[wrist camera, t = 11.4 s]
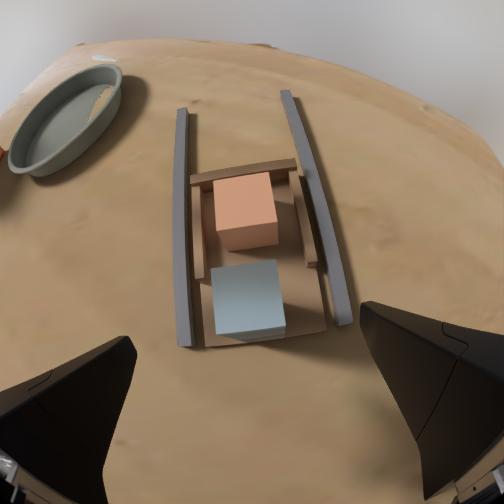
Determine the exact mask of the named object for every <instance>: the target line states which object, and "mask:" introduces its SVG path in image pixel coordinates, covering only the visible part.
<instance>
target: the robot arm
mask: <svg viewBox="0 0 504 504" xmlns="http://www.w3.org/2000/svg"><path fill="white" fill-rule="evenodd" d="M360 327H361V329H362V332H363V335H364V337H365V340H366V342H367V345H368V348H369V350H370V353H371V355H372V357H373V359H374V361H375V363H376V364H377V366H378V368H379V370H380V372H381V374H382V376H383V377H384V379H385V381H386V383H387V385H388V387H389V389H390V391H391V393H392V395H393V397H394V398H395V400H396V402H397V404H398V406H399V408H400V410H401V412H402V414H403V416H404V418H405V420H406V422H407V424H408V426H409V428H410V430H411V432H412V435H413V437H414V439H415V441H416V443H417V445H418V448H419V452H420V457H421V466H422V477H423V492H424V500H425V501H426V500H428V499H430V498H432V497H435V496H437V495H439V494H441V493H443V492H445V491H447V490H449V489H451V488H453V487H454V486H455V487H456V490H457V492H458V495H457V496H455V497H454V499H453V501H452V503H451V504H504V335H501V334H495V333H490V332H485V331H480V330H475V329H470V328H466V327H461V326H457V325H454V324H450V323H446V322H441V321H438V320H435V319H431V318H428V317H424V316H421V315H417V314H414V313H411V312H407V311H404V310H400V309H397V308H393V307H390V306H387V305H383V304H380V303H377V302H373V301H367V302H363V303H361V305H360ZM136 360H137V351H136V349H135V347H134V345H133V343H132V341H131V339H130V338H129V337H128V336H118V337H116V338H114V339H113V340H111V341H109V342H107V343H105V344H103V345H101V346H99V347H97V348H95V349H93V350H91V351H89V352H87V353H85V354H83V355H81V356H79V357H77V358H75V359H73V360H71V361H68V362H66V363H64V364H62V365H60V366H58V367H56V368H54V369H52V370H49V371H47V372H45V373H43V374H41V375H39V376H37V377H35V378H32V379H30V380H28V381H25V382H23V383H21V384H18V385H16V386H13V387H11V388H8V389H6V390H4V391H1V392H0V504H108V500H107V496H106V492H105V487H104V482H103V475H102V474H103V467H104V466H103V465H104V463H105V460H106V457H107V453H108V450H109V447H110V444H111V440H112V437H113V434H114V431H115V428H116V425H117V422H118V419H119V416H120V413H121V410H122V407H123V404H124V401H125V398H126V396H127V393H128V390H129V387H130V384H131V380H132V376H133V372H134V368H135V364H136Z"/></svg>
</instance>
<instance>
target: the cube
mask: <svg viewBox="0 0 504 504" xmlns="http://www.w3.org/2000/svg"><path fill="white" fill-rule="evenodd" d="M213 185H214V202H215V217H216V231H217V233H218V235H219V237H220V238H221V240H222V242H223V244H224V246H225V248H226V250H227V251H228V252H229V251H236V250H243V249H250V248H256V247H263V246H270V245H277V244H279V242H278V222H277V216H276V210H275V204H274V199H273V193H272V188H271V182H270V177H269V172H265V173H258V174H252V175H245V176H239V177H233V178H227V179H221V180H216V181H213Z"/></svg>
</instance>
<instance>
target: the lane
mask: <svg viewBox="0 0 504 504" xmlns="http://www.w3.org/2000/svg"><path fill="white" fill-rule="evenodd" d="M280 94H281V100H282V103H283V106H284V109H285V113H286V116H287V119H288V122H289V125H290V129H291V132H292V135H293V139H294V142H295V146H296V149H297V153H298V156H299V160H300V163H301V167H302V170H303V174H304V178H305V182H306V186H307V189H308V193H309V197H310V201H311V205H312V209H313V213H314V217H315V222H316V226H317V230H318V235H319V239H320V244H321V248H322V253H323V257H324V262H325V267H326V272H327V277H328V282H329V287H330V292H331V298H332V303H333V309H334V314H335V320H336V326H337V327H339V326H344V325H349V324H352V323H353V317H352V312H351V306H350V301H349V296H348V291H347V286H346V281H345V276H344V272H343V267H342V263H341V258H340V254H339V250H338V245H337V241H336V237H335V233H334V229H333V225H332V221H331V217H330V214H329V210H328V206H327V202H326V199H325V195H324V192H323V188H322V185H321V181H320V178H319V175H318V171H317V168H316V165H315V161H314V158H313V155H312V152H311V149H310V146H309V143H308V140H307V137H306V134H305V131H304V128H303V125H302V122H301V119H300V116H299V114H298V111H297V108H296V105H295V103H294V100H293V97H292V94H291V92H290V90H282V91H280ZM188 123H189V113H188V110H187V107H185V108H181V109H177V120H176V134H175V150H174V171H173V215H172V234H173V278H174V300H175V316H176V330H177V343H178V347H190V346H196V344H195V333H194V321H193V309H192V295H191V279H190V260H189V235H188Z"/></svg>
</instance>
